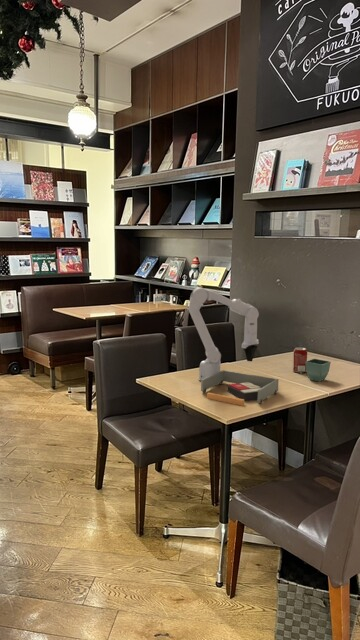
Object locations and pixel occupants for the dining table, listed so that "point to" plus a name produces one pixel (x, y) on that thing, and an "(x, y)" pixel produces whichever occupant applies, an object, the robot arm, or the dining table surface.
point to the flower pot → (317, 369)
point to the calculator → (244, 391)
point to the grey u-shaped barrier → (266, 384)
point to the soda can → (299, 360)
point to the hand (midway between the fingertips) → (249, 360)
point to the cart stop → (225, 398)
